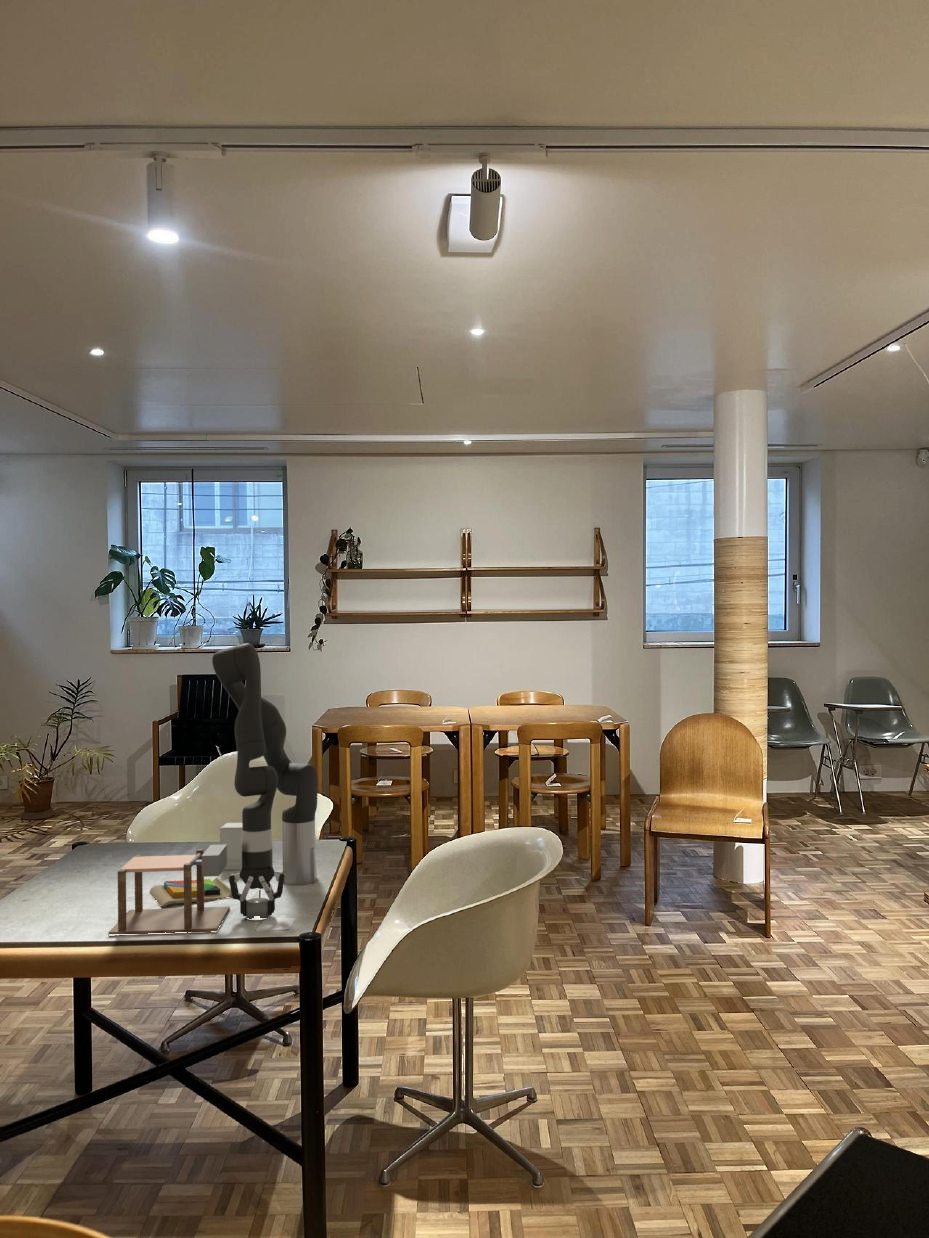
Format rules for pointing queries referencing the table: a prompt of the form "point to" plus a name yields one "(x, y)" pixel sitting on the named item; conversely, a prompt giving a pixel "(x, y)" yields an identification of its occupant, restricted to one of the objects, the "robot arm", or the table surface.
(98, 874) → the table surface
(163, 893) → the wooden puzzle
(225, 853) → the trapdoor
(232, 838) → the supplement box
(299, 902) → the table surface
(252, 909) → the stubby grey cylinder
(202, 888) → the trapdoor stand
